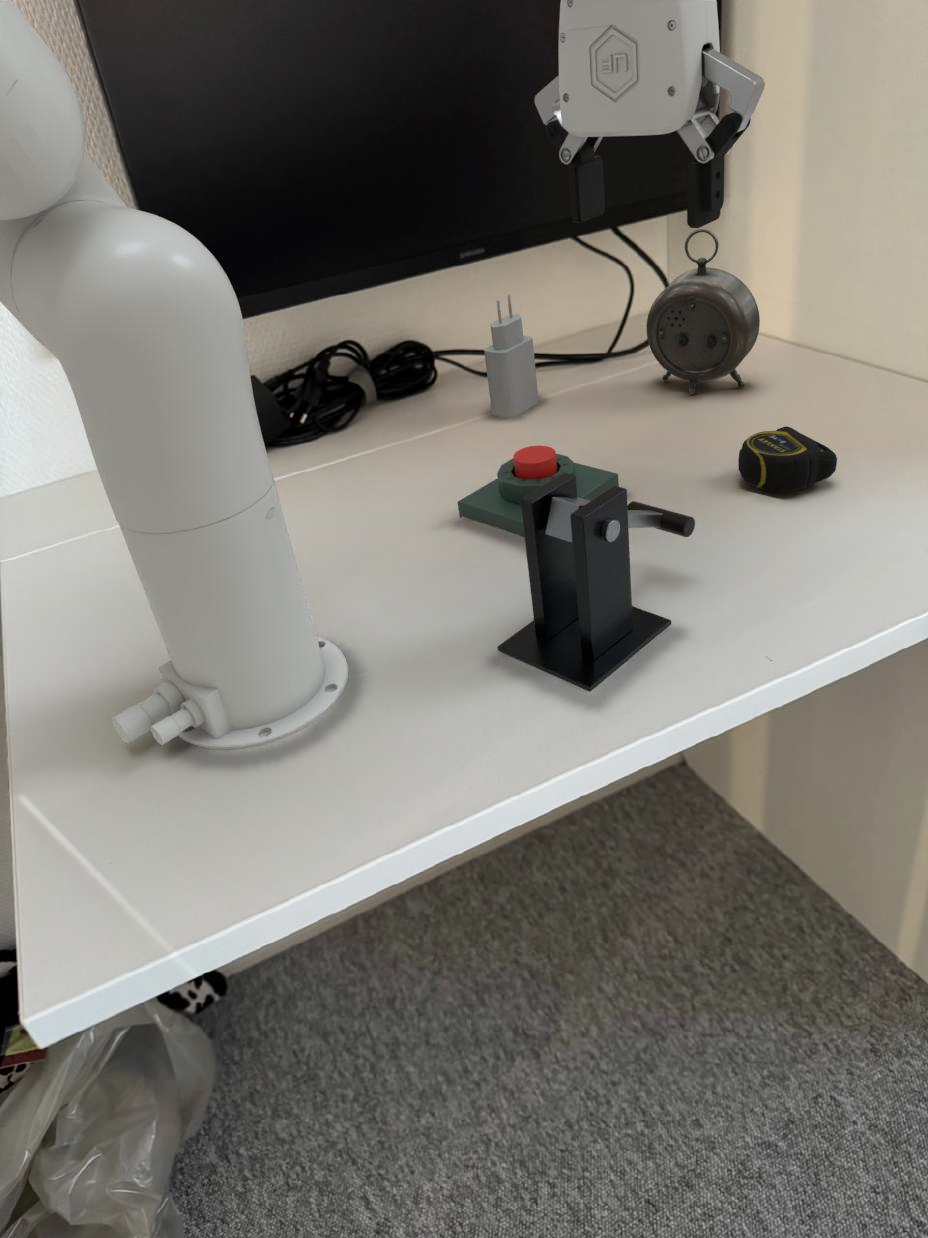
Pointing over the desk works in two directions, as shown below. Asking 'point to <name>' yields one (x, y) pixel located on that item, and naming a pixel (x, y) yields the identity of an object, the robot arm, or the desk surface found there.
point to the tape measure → (784, 460)
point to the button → (535, 462)
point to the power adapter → (510, 367)
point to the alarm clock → (703, 323)
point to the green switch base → (504, 493)
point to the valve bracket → (580, 589)
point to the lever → (637, 518)
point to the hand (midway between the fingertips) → (644, 220)
